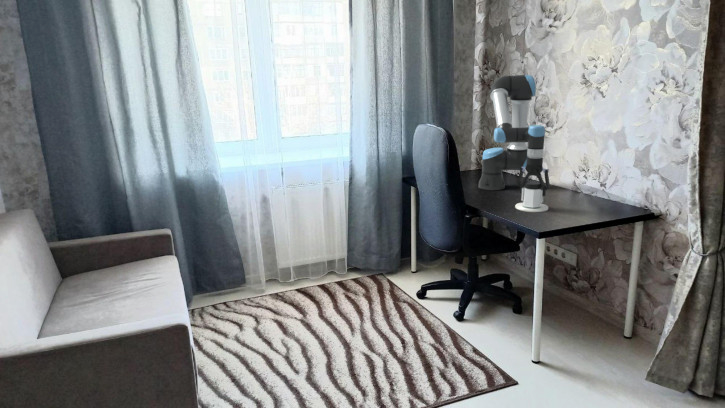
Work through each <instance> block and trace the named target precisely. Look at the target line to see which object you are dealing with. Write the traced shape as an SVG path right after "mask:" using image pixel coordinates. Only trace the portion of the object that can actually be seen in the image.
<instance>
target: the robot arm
mask: <svg viewBox="0 0 725 408" xmlns="http://www.w3.org/2000/svg"><path fill="white" fill-rule="evenodd" d="M536 85H537V84H536V79H535V78H534V76H533V75H530V74H517V75H514V74H513V75H503V76H499V78H497V79H496V80H495V81H494V82H493V83H492V85H491V88H490V90H489V96H490V100H491V101H492V102H493V103H492V104H493V111H494V117H495V122H496V123H495V124H496V127H495V128H494V131H493V140H494V142H495V143H501V144H505V143H506V144H507V143H509V145H508V146H507V147H506V149H505V150H504V147H492V148H488V149H485V150H484V151H483V153H482V159H481V160H482V164H481V165H482V168H481V177H480V179H479V181H478V188H479V189H481V190H485V191H501V190H504V189H505V188H506V187H505V186H506V185H505V181H504V176H503V171H519V175H518V177H517V178H518V179H517V181H516V187H519V194H520V195H521V197H520V198H521V199H520V201H522V202H523V199H524V184H525V182H526V181H529V178H530V176H531V177H532V176H534V177H537V179H538V182H540V184H541V196H540V203H541V204H543V203H544V197H545V196H546V192H547V190H549V189H550V188H551V184H550V176H549V172H550V169H549V168H544V167H543V161H544V158H543V157H544V146H545V136H546V135H545V134H546V127H545V126H544V125H541V124H540V125H538V124H537V125H536V124H535V125H530V126H528V117H529V116H528V114H529V104H530V102H531V101H532V100H533V99H532V98H533V97H535V96H536V91H537V88H536ZM508 98H509V100H510V102H511V103H512V105H511V106H512V108H511V109H512V110H511V113H510V107H509V101H508ZM526 143H527V145H526ZM525 171H526V175H525V177H524V178H523V176H524V173H525ZM542 172H543V175H544V179H543V177H542V176H543V175H542V174H541V173H542ZM522 178H523V179H522ZM522 180H523V181H522ZM544 181H545V182H544Z"/></svg>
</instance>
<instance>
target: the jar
mask: <svg viewBox="0 0 725 408" xmlns="http://www.w3.org/2000/svg"><path fill="white" fill-rule="evenodd" d="M523 187H524V199H523V201H522V203H523V205H524V207H530V208H536V207H540V196H541V190H542V187H541V184H540V182H539V181H536V180H527V181H526V182H525V184H524V186H523Z"/></svg>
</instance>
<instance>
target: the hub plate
mask: <svg viewBox="0 0 725 408" xmlns="http://www.w3.org/2000/svg"><path fill="white" fill-rule="evenodd" d="M514 208H515V209H516V210H518V211H521V212H525V213H543V212H544V213H545V212H547V211H548V210H549V206H548V205H547V204H544V203H540V207H536V208H530V207H524V205H523V202H518V203H516V204H515V206H514Z"/></svg>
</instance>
